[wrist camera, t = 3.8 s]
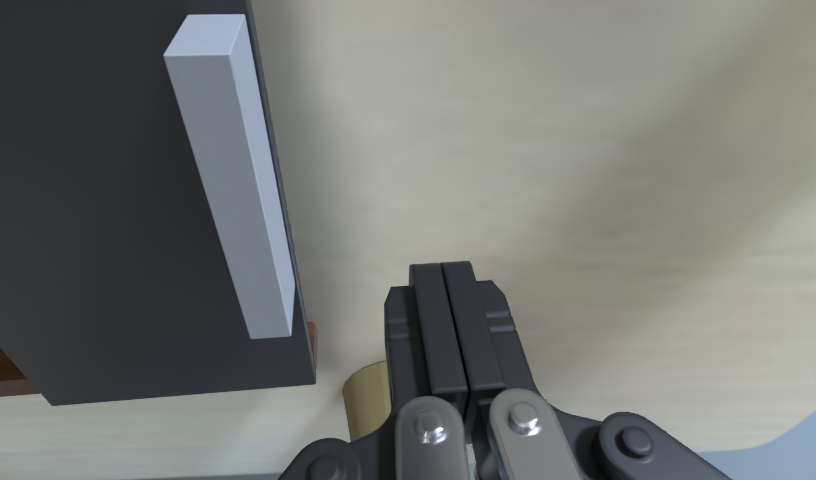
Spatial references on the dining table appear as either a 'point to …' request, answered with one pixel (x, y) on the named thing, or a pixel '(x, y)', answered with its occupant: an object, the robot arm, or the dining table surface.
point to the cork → (367, 400)
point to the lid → (143, 204)
